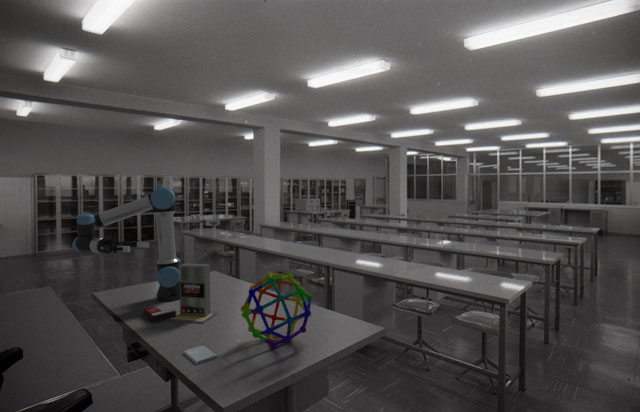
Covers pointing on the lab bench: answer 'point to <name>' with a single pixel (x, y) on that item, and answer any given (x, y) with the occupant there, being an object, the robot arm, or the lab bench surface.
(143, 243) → the robot arm
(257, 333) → the geometric model
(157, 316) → the calculator
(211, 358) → the hard drive
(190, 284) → the grey instrument box
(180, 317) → the picture board
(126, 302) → the lab bench surface
